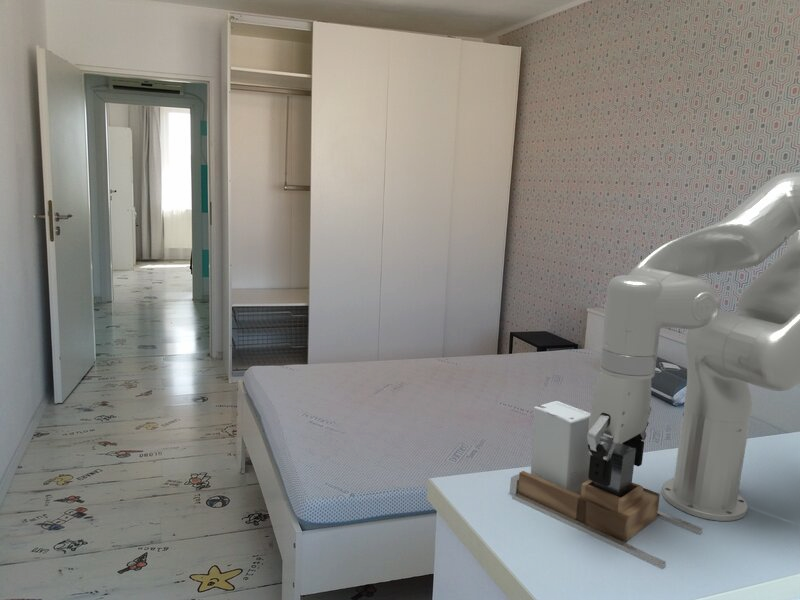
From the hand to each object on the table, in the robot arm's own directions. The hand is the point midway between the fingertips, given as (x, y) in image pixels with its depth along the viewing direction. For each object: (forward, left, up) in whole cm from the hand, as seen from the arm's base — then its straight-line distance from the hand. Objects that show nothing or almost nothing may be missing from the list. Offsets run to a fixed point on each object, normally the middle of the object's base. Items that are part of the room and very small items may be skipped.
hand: (615, 472), depth 95 cm
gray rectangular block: (0, 0, -4) cm, 4 cm away
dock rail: (-1, -2, -8) cm, 9 cm away
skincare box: (-1, -10, -9) cm, 13 cm away
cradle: (-1, -5, -8) cm, 10 cm away
